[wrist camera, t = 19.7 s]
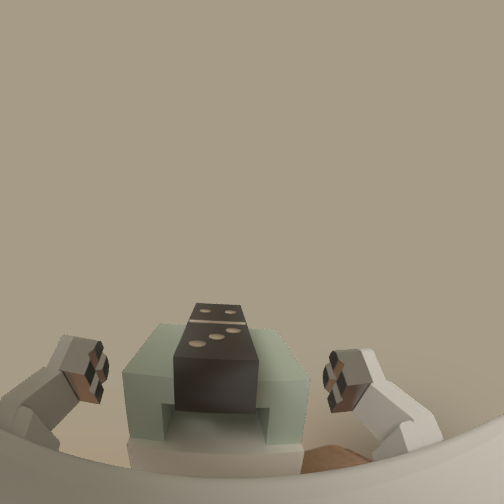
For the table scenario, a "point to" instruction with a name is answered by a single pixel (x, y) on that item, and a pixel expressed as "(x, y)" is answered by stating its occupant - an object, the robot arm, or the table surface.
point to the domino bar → (216, 362)
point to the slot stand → (215, 415)
